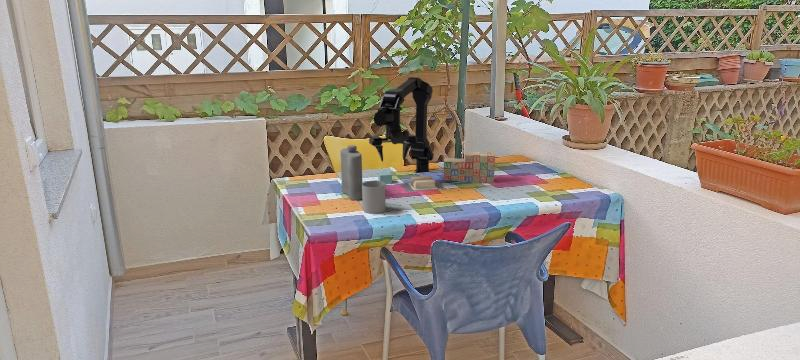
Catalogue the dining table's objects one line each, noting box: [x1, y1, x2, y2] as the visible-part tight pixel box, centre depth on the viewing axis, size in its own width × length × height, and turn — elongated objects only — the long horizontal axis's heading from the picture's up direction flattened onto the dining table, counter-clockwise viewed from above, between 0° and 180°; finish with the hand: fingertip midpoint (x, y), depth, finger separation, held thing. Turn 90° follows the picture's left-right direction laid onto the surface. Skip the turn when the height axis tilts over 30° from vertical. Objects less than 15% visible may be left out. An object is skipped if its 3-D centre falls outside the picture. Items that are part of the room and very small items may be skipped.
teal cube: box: [377, 171, 393, 185], centre depth 243 cm, size 5×5×5 cm
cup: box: [362, 180, 387, 215], centre depth 211 cm, size 8×8×10 cm
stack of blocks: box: [443, 151, 496, 185], centre depth 246 cm, size 21×6×12 cm, turn 84°
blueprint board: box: [400, 180, 446, 193], centre depth 238 cm, size 12×16×1 cm
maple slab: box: [410, 175, 436, 189], centre depth 237 cm, size 8×8×3 cm
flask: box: [339, 144, 363, 201], centre depth 228 cm, size 15×6×20 cm, turn 23°
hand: (393, 160), depth 237 cm, fingers open, 9 cm apart
